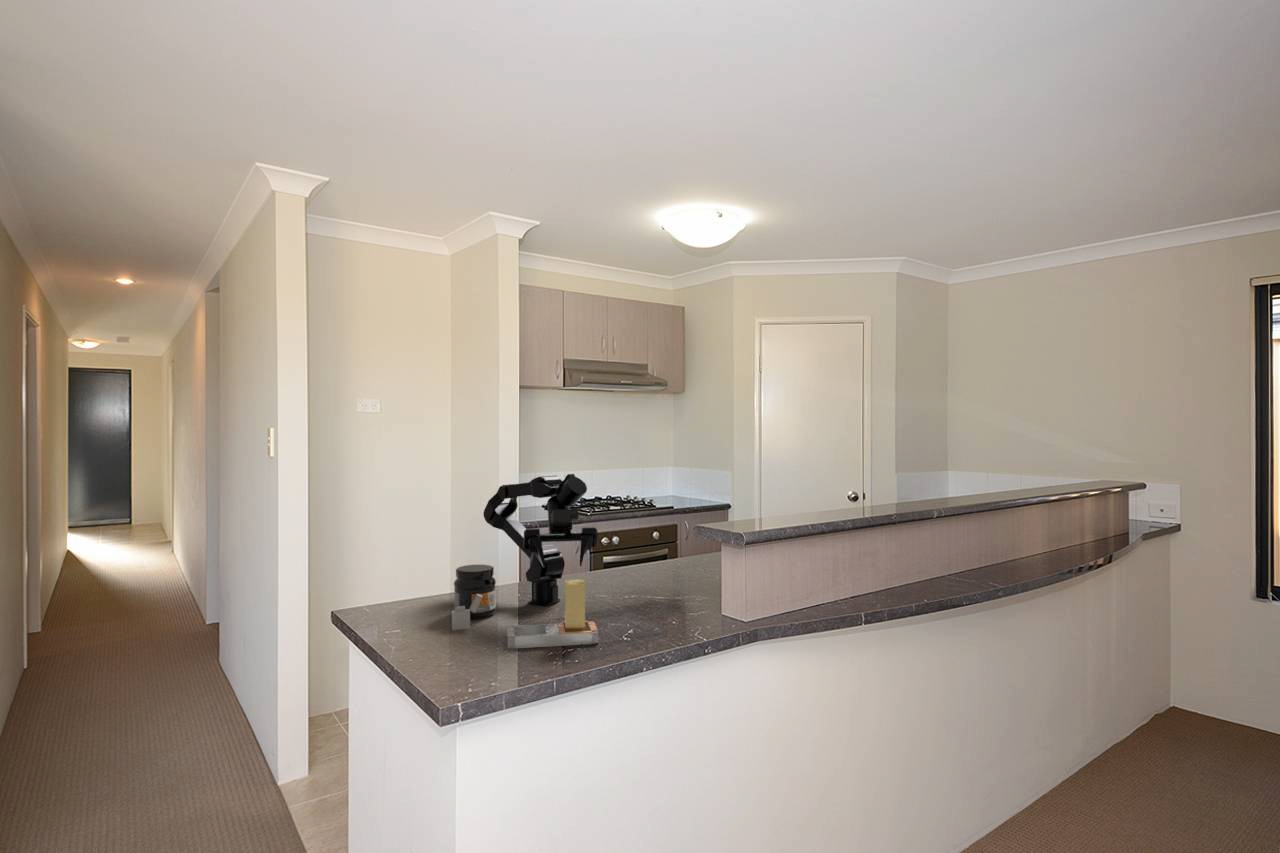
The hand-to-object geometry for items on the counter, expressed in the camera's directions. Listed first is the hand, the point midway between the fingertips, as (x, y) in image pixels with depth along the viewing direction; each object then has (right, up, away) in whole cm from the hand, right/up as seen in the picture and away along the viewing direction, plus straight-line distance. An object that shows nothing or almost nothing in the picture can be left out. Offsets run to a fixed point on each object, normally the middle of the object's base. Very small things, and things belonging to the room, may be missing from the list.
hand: (562, 566), depth 178 cm
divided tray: (-1, -14, -16) cm, 21 cm away
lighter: (-22, -14, -6) cm, 27 cm away
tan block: (+4, -14, -15) cm, 20 cm away
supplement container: (-23, -14, +5) cm, 27 cm away
